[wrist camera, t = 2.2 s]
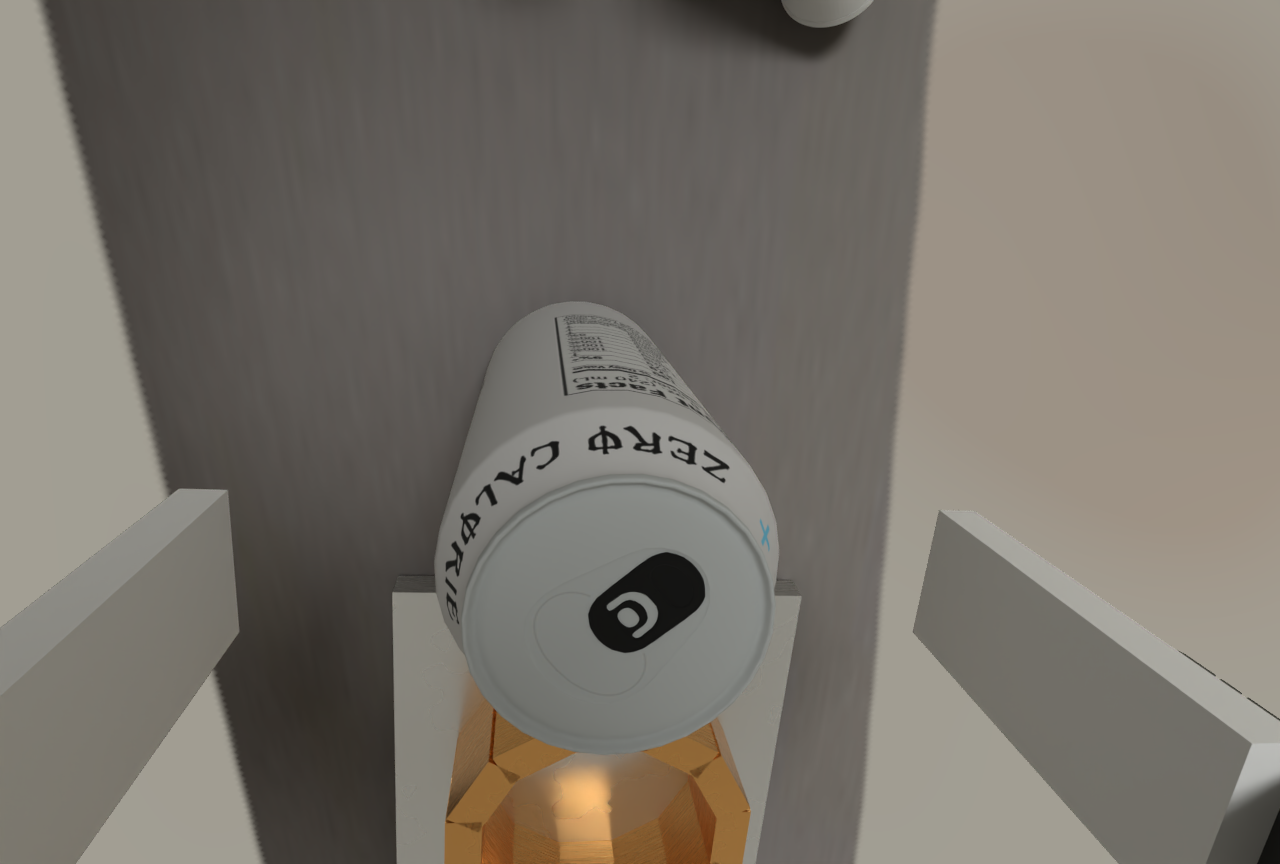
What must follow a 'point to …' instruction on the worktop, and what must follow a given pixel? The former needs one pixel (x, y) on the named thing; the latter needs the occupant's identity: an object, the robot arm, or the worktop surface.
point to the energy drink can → (603, 541)
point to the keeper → (569, 766)
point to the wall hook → (824, 11)
